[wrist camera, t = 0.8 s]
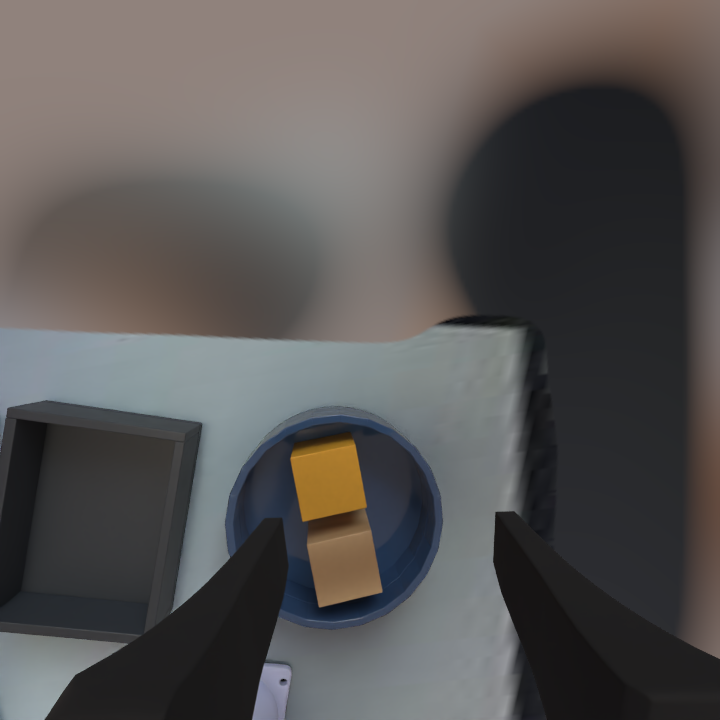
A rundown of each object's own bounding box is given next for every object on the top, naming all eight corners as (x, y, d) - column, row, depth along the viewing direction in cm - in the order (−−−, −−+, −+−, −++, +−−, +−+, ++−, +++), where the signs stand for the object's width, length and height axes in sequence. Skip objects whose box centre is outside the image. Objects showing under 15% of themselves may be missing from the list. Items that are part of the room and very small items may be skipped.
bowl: (409, 601, 31) (423, 639, 27) (224, 581, 29) (209, 617, 25) (440, 421, 30) (458, 432, 26) (255, 392, 29) (245, 399, 25)
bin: (171, 610, 29) (151, 646, 25) (15, 594, 28) (-28, 629, 24) (202, 422, 29) (186, 433, 25) (46, 400, 28) (7, 407, 24)
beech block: (374, 560, 30) (383, 592, 26) (318, 573, 29) (318, 608, 25) (364, 505, 30) (371, 530, 26) (308, 518, 29) (306, 545, 25)
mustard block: (360, 486, 29) (367, 508, 26) (304, 498, 29) (302, 522, 25) (350, 431, 29) (355, 444, 25) (293, 442, 29) (289, 457, 25)
